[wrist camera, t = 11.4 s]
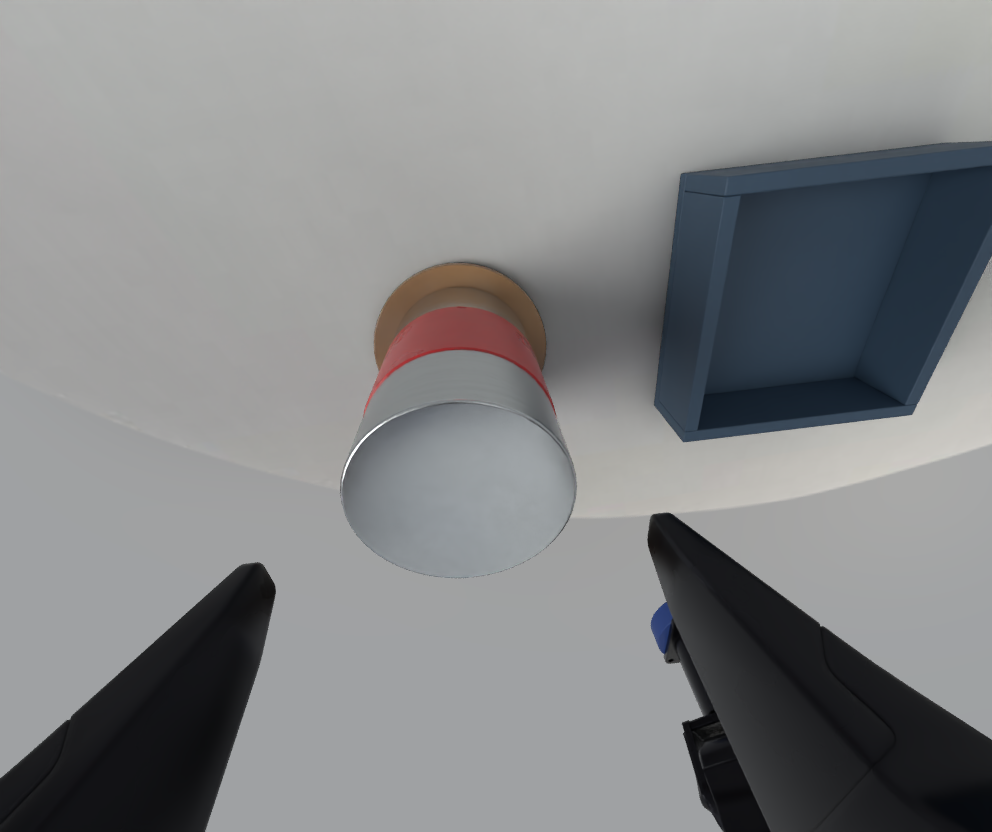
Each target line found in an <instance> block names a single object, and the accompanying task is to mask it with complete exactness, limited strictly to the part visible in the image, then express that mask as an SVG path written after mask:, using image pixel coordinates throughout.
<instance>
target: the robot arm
mask: <svg viewBox="0 0 992 832" xmlns="http://www.w3.org/2000/svg"><path fill="white" fill-rule="evenodd" d="M648 547H649V551H650V554H651V557H652V560H653V562H654V565H655V568H656V572H657V574H658V578H659V580H660V584H661V586H662V589H663V592H664V595H665V598H666V601H667V604H668V607H669V610H670V613H671V615H672V617H673V619H672V620H671V624H670V629H669V634H668V639H667V644H666V649H665V654H664V659H665V661H666V663H670V664H671V663H679V662H680V663H681V665H682V668H683V670H684V672H685V675H686V677H687V679H688V681H689V684H690V686H691V688H692V691H693V693H694V695H695V698H696V700H697V702H698V704H699V707H700V709H701V712H702V714H703V717H700V718H698V719H695V720H692V721H689V720H688V721H685V722H683V723H682V725H683V729H684V733H683V735H684V738H685V741H686V744H687V747H688V751H689V754H690V757H691V761H692V764H693V768H694V771H695V775H696V780H697V785H698V790H699V796H700V800H701V802H702V804H703V806H704V808H706V809H707V810H709V811H710V812H711V813H712V814H713V816H714V817H715V819H716V821H717V823H718V825H719V826H720V827H721V829H722V830H723V832H992V740H991V739H990V738H988V737H986V736H985V735H984V734H982V733H980V732H979V731H977V730H976V729H974V728H973V727H971V726H969V725H968V724H967V723H965V722H963V721H962V720H960V719H959V718H957V717H956V716H954V715H953V714H951V713H950V712H948V711H946V710H945V709H943V708H942V707H940V706H939V705H937V704H935V703H934V702H933V701H931V700H929V699H928V698H926V697H925V696H923V695H921V694H920V693H918V692H917V691H916V690H914V689H912V688H911V687H909V686H908V685H906V684H905V683H903V682H902V681H900V680H899V679H897V678H896V677H894V676H893V675H891V674H890V673H888V672H887V671H885V670H884V669H882V668H881V667H879V666H878V665H876V664H875V663H874V662H872V661H871V660H869V659H868V658H867V657H865V656H863V655H862V654H861V653H860V652H858V651H857V650H855V649H854V648H853V647H851V646H850V645H848V644H847V643H846V642H844V641H843V640H842V639H840V638H839V637H837V636H836V635H835V634H833V633H832V632H831V631H829V630H828V629H827V628H825V627H823V626H822V627H820V624H819V623H818V622H817V621H816V620H814V619H813V618H811V617H810V616H809V615H807V614H806V613H805V612H803V611H802V610H801V609H799V608H798V607H797V606H795V605H794V604H793V603H791V602H790V601H789V600H787V599H786V598H785V597H783V596H782V595H781V594H779V593H778V592H777V591H775V590H774V589H772V588H771V587H770V586H768V585H767V584H766V583H764V582H763V581H762V580H760V579H759V578H757V577H756V576H755V575H754V574H752V573H751V572H750V571H748V570H747V569H745V568H744V567H743V566H741V565H740V564H739V563H737V562H736V561H735V560H733V559H732V558H731V557H729V556H728V555H727V554H725V553H724V552H723V551H721V550H720V549H718V548H717V547H716V546H714V545H713V544H712V543H710V542H709V541H708V540H706V539H705V538H704V537H702V536H701V535H700V534H698V533H697V532H696V531H694V530H693V529H692V528H690V527H689V526H688V525H686V524H685V523H683V522H682V521H681V520H679V519H678V518H677V517H675V516H674V515H673V514H671V513H658V514H653V515H652V516H651V518H650V524H649V531H648ZM275 594H276V589H275V584H274V582H273V581H272V579H271V577H270V575H269V574H268V572H267V571H266V569H265V567H264V566H263V564H261V563H258V562H257V563H250V564H243V565H241V566H239V567H238V568H237V569H235V570H234V571H233V572H232V573H231V574H230V575H229V576H228V577H226V578H225V579H224V580H223V581H222V582H221V583H220V584H219V585H218V586H216V588H214V589H213V590H212V591H211V592H210V593H209V594H208V595H206V596H205V597H204V598H203V599H202V600H201V601H200V602H199V603H197V604H196V605H195V606H194V607H193V608H192V609H191V610H190V611H188V612H187V613H186V614H185V615H184V616H183V617H182V618H181V619H179V620H178V621H177V622H176V623H175V624H174V625H173V626H172V627H171V628H170V629H168V630H167V631H166V632H165V633H164V634H163V635H162V636H160V637H159V638H158V639H157V640H156V641H155V642H154V643H153V644H152V645H151V646H149V647H148V648H147V649H146V650H145V651H144V652H143V653H141V654H140V655H139V656H138V657H137V658H136V659H135V660H134V661H133V662H132V663H130V664H129V665H128V666H127V667H126V668H125V669H124V670H123V671H121V672H120V673H119V674H118V675H117V676H116V677H115V678H114V679H112V680H111V681H110V682H109V683H108V684H107V685H106V686H105V687H103V688H102V689H101V690H100V691H99V692H98V693H97V694H96V695H94V696H93V697H92V698H91V699H90V700H89V701H88V702H87V703H86V704H85V705H83V706H82V707H81V708H80V709H79V710H78V711H77V712H75V713H74V714H73V715H72V716H71V719H70V720H67V721H66V722H64V723H63V724H62V725H61V726H60V727H59V728H57V729H56V730H55V731H54V732H53V733H52V734H51V735H50V736H48V737H47V738H46V739H45V740H44V741H43V742H42V743H41V744H39V746H37V747H36V748H35V749H34V750H33V751H32V752H30V753H29V754H28V755H27V756H26V757H25V758H24V759H22V760H21V761H20V762H19V763H18V764H17V765H15V766H14V767H13V768H12V769H11V770H10V771H9V772H7V773H6V774H5V775H4V776H3V777H1V778H0V832H205V830H206V827H207V824H208V821H209V817H210V815H211V812H212V809H213V806H214V803H215V800H216V797H217V794H218V790H219V787H220V784H221V781H222V778H223V775H224V772H225V769H226V766H227V763H228V760H229V757H230V754H231V751H232V748H233V744H234V742H235V738H236V736H237V732H238V729H239V726H240V723H241V720H242V717H243V714H244V711H245V708H246V705H247V702H248V699H249V695H250V693H251V690H252V687H253V684H254V681H255V678H256V674H257V671H258V668H259V665H260V661H261V657H262V653H263V648H264V644H265V640H266V635H267V631H268V626H269V621H270V617H271V613H272V608H273V604H274V599H275Z"/></svg>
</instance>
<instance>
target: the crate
mask: <svg viewBox="0 0 992 832" xmlns="http://www.w3.org/2000/svg"><path fill="white" fill-rule="evenodd" d="M991 256H992V141H984V142H958V143H940V144H932V145H923V146H914V147H906V148H897V149H888V150H880V151H871V152H863V153H854V154H845V155H837V156H828V157H819V158H811V159H802V160H794V161H785V162H776V163H768V164H759V165H750V166H742V167H733V168H725V169H716V170H707V171H699V172H690V173H682V174H681V177H680V186H679V194H678V203H677V212H676V220H675V229H674V238H673V246H672V255H671V263H670V272H669V281H668V289H667V298H666V306H665V315H664V324H663V332H662V341H661V349H660V358H659V367H658V375H657V384H656V392H655V401H654V406H655V407H656V408H657V409H658V411H659V412H660V413H661V414H662V416H663V417H664V418H665V420H666V421H667V422H668V423H669V425H670V426H671V427H672V428H673V430H674V431H675V432H676V434H677V435H678V436H679V437H680V439H681V440H682V441H683V442H690V441H699V440H707V439H715V438H724V437H732V436H740V435H749V434H757V433H765V432H774V431H782V430H790V429H799V428H807V427H815V426H824V425H832V424H840V423H849V422H857V421H865V420H874V419H882V418H890V417H899V416H907V415H912V414H913V412H914V410H915V408H916V406H917V404H918V402H919V400H920V398H921V396H922V394H923V392H924V390H925V388H926V386H927V384H928V382H929V380H930V378H931V376H932V374H933V372H934V370H935V368H936V366H937V364H938V362H939V360H940V358H941V356H942V354H943V352H944V350H945V348H946V346H947V344H948V342H949V340H950V338H951V336H952V334H953V332H954V330H955V328H956V326H957V324H958V322H959V320H960V318H961V316H962V314H963V312H964V310H965V308H966V306H967V304H968V302H969V300H970V298H971V296H972V294H973V292H974V290H975V288H976V286H977V284H978V282H979V280H980V278H981V276H982V274H983V272H984V270H985V268H986V266H987V264H988V262H989V260H990V258H991Z"/></svg>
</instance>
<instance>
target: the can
mask: <svg viewBox="0 0 992 832" xmlns="http://www.w3.org/2000/svg"><path fill="white" fill-rule="evenodd" d="M576 491H577V481H576V473H575V469H574V465H573V462H572V459H571V456H570V454H569V451H568V448H567V445H566V443H565V440H564V437H563V434H562V432H561V429H560V426H559V423H558V421H557V417H556V413H555V409H554V405H553V402H552V400H551V397H550V394H549V391H548V389H547V386H546V383H545V381H544V378H543V375H542V373H541V370H540V367H539V364H538V362H537V359H536V356H535V354H534V352H533V349H532V347H531V346H530V344H529V341H528V338H527V335H526V333H525V330H524V328H523V325H522V323H521V321H520V320H519V318H518V316H517V315H516V314H515V313H514V311H513V310H512V309H511V308H510V307H509V306H508V305H507V304H506V303H505V302H503V301H502V300H500V299H499V298H498V297H496V296H494V295H492V294H490V293H488V292H485V291H482V290H479V289H475V288H469V287H451V288H446V289H441V290H438V291H435V292H433V293H430V294H428V295H426V296H425V297H423V298H422V299H420V300H419V301H417V302H416V303H415V304H414V305H413V306H412V307H411V308H410V309H409V310H408V311H407V312H406V314H405V315H404V317H403V318H402V320H401V322H400V324H399V326H398V329H397V331H396V334H395V336H394V339H393V341H392V343H391V345H390V346H389V349H388V351H387V353H386V356H385V358H384V361H383V363H382V366H381V368H380V371H379V373H378V376H377V379H376V381H375V384H374V386H373V389H372V391H371V394H370V396H369V399H368V401H367V404H366V407H365V411H364V415H363V419H362V421H361V424H360V426H359V429H358V432H357V434H356V437H355V439H354V442H353V445H352V447H351V450H350V452H349V455H348V457H347V460H346V463H345V465H344V468H343V472H342V477H341V486H340V493H341V500H342V505H343V509H344V512H345V516H346V518H347V520H348V522H349V524H350V526H351V527H352V529H353V530H354V532H355V533H356V535H357V536H358V537H359V538H360V539H361V541H362V542H363V543H364V544H365V545H366V546H367V547H369V548H370V549H371V550H372V551H373V552H375V553H376V554H377V555H379V556H380V557H382V558H384V559H385V560H387V561H389V562H391V563H393V564H395V565H397V566H399V567H402V568H404V569H407V570H409V571H413V572H416V573H420V574H424V575H429V576H435V577H445V578H468V577H478V576H484V575H490V574H493V573H497V572H501V571H504V570H507V569H510V568H513V567H515V566H517V565H519V564H521V563H524V562H525V561H527V560H529V559H531V558H532V557H534V556H536V555H537V554H538V553H539V552H541V551H542V550H544V549H545V548H546V547H547V546H548V545H549V544H550V543H551V542H553V541H554V540H555V538H556V537H557V536H558V535H559V534H560V532H561V531H562V530H563V528H564V527H565V525H566V523H567V522H568V520H569V518H570V515H571V513H572V511H573V507H574V503H575V499H576Z"/></svg>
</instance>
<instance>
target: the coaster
mask: <svg viewBox="0 0 992 832" xmlns="http://www.w3.org/2000/svg"><path fill="white" fill-rule="evenodd" d="M451 287H469V288H475V289H479V290H482V291H485V292H488V293H490V294H492V295H494V296H496V297H498V298H499V299H500V300H502V301H503V302H505V303H506V304H507V305H508V306H509V307H510V308H511V309H512V310H513V311H514V313H515V314H516V315H517V316H518V318H519V320H520V321H521V323H522V325H523V328H524V330H525V333H526V335H527V338H528V341H529V344H530V346H531V347H532V349H533V352H534V354H535V356H536V359H537V362H538V364H539V367H540V370H541V372H542V369H543V366H544V362H545V356H546V337H545V330H544V326H543V322H542V320H541V318H540V315H539V313H538V310H537V309H536V307H535V305H534V304H533V302H532V300H531V299H530V298H529V296H528V295H527V294H526V293H525V291H524V290H523V289H522V288H520V287H519V286H518V285H517V284H516V283H515V282H514V281H512V280H511V279H510V278H508V277H507V276H505V275H503V274H501V273H499V272H497V271H495V270H493V269H490V268H487V267H485V266H480V265H476V264H469V263H447V264H442V265H437V266H433V267H430V268H427V269H424V270H422V271H420V272H418V273H416V274H414V275H413V276H411V277H410V278H408V279H407V280H406V281H404V282H403V283H402V284H401V285H400V286H399V287H398V288H397V289H396V290H395V291H394V292H393V293H392V294H391V296H390V297H389V298H388V300H387V302H386V303H385V305H384V307H383V308H382V310H381V313H380V315H379V318H378V320H377V324H376V328H375V334H374V354H375V359H376V364H377V366H378V369H379V371H380V368H381V366H382V363H383V361H384V358H385V356H386V353H387V351H388V349H389V346H390V345H391V343H392V341H393V339H394V336H395V334H396V331H397V329H398V326H399V324H400V322H401V320H402V318H403V317H404V315H405V314H406V312H407V311H408V310H409V309H410V308H411V307H412V306H413V305H414V304H415V303H416V302H417V301H419V300H420V299H422V298H423V297H425V296H426V295H428V294H430V293H433V292H435V291H438V290H441V289H446V288H451Z"/></svg>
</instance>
